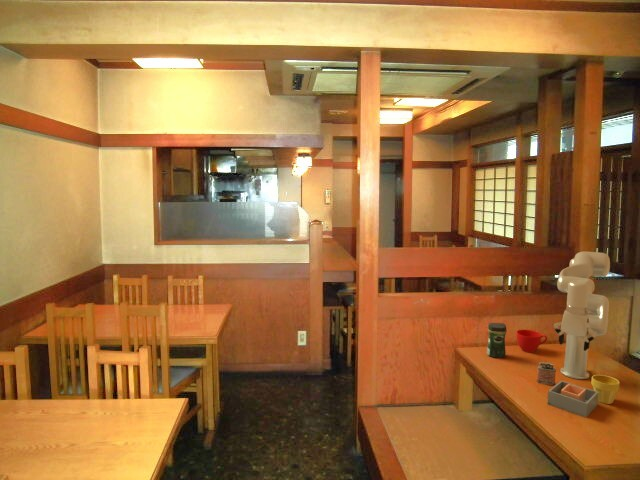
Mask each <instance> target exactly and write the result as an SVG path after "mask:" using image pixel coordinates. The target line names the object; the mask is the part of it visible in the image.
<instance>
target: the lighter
mask: <svg viewBox="0 0 640 480" xmlns="http://www.w3.org/2000/svg"><path fill="white" fill-rule="evenodd" d="M554 365H555V364H554V363H550V362H543V361H542V362H539V364H538V366H537V374H536V375H537V376H536V381H535V382H536V383H537V382H538V384H541V383H542V385H547V384H549V386H555V385H556V372H557V368H555V367H554Z"/></svg>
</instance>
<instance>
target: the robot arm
mask: <svg viewBox="0 0 640 480" xmlns="http://www.w3.org/2000/svg"><path fill="white" fill-rule="evenodd" d="M610 261H611V260H610V256H609V255H608V254H606V253H605V252H597V251H596V252H595V251H580V252H577V253H576V254H575V256H574V258H572V259H570V260H569V266H567V267H566V268H563V269H562V270H561V271H560V273H559V275H558V279H557V283H556V286H557V287H556V288H557V289H558V291H559V292H562V293H567V296H566V309H565V310H564V311H563V316H562V320H561V321H560V322H556V323H555V322H554V324H553V329H555V330H554V331H555V332H556V334H557V336H558V342H559V345H563V344H564V343H565V349H564V350H565V352H564V363H563V364H564V366H563V367H561V368H560V373H561V374H562V375H563V376H565V377H568V378H571V379H576V380H586V379H587V380H588V379H589V378H590V373H589V372H588V371H587V365H588V364H587V362H588V352H589V349H590V343H591V341H593V340H595V338H596V337H598V336H599V337H600V336H604V335H606V334H607V331H608V325H609V313H610V312H609V310H610V303H609V299H608V297H607V296H605V295H602V294H595V293H594V291H595V288H596V286H595V282H594V281H593V280H592V279H591V278H590V277H591V276H592V277H593V276H594V277H607V276H608V275H609V273H610V269H611V262H610ZM559 327H560V328H559ZM565 334H566V338H565ZM589 335H591V336H589ZM565 339H566V340H565ZM564 341H565V342H564Z"/></svg>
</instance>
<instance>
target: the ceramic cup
mask: <svg viewBox="0 0 640 480" xmlns="http://www.w3.org/2000/svg"><path fill="white" fill-rule="evenodd" d="M515 337H516V342H517V346H519V348H520V349H521V351H523V352H526V353H534V352H535V351H536V350H537V349H538V348H539V347H540V345H543V344H545V343H546V342H547V340H548V337H547V335H545V334H541V333H540V332H539V331H535V330H532V329H531V330H530V329H518V330H516V336H515ZM542 338H544V340H543V341H542Z"/></svg>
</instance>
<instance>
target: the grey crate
mask: <svg viewBox="0 0 640 480" xmlns="http://www.w3.org/2000/svg"><path fill="white" fill-rule="evenodd" d="M568 384H571V385H574V386H577V387H580V388H584V389H586V395H585V402H583V401H580V400H577V399H574V398H571V397H568V396H565V395H562V394H561V390H562V389H563V388H564V387H565V386H566V385H568ZM598 394H599V392H597V391H594V389H591V388H587V387H584V386H579V385H577V384H574V383H570V382H567V381H565V380H560V381H559V382H558V383H555V385H553V386H552V387H551V388H550V389H549V390H548V393H547V402H546V403H547V405H549V406H552V407H555V408H558V409H561V410H564V411H566V412H570V413H572V414H575V415H578V416H580V417H582V418H583V417H584V418H587V417H588V416H589V415H590V414H591V413H592V412H593V411H594V410H595V409H596V408H597V406H598V403H599V401H598Z"/></svg>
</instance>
